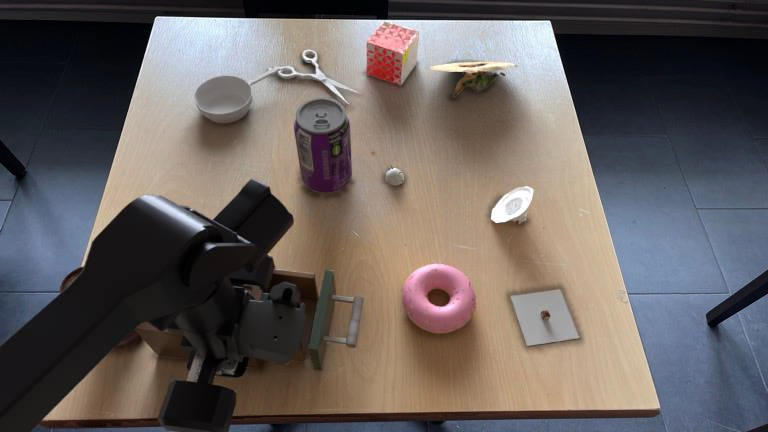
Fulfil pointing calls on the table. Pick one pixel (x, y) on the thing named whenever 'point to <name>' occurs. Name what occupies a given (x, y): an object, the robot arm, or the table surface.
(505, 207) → the white footed dish
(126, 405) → the table surface
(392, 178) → the white rounded lump
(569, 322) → the grey square plate
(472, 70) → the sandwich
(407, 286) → the doughnut
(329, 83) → the scissors
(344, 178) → the beverage can
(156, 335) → the cabinet
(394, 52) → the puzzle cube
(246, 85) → the saucepan
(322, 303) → the drawer
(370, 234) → the table surface
